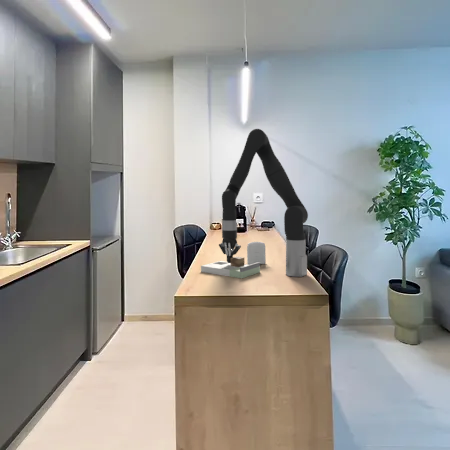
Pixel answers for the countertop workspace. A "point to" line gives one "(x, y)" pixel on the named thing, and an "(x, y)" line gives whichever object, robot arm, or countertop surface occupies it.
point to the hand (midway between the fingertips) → (229, 262)
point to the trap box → (231, 269)
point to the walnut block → (237, 261)
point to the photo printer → (256, 253)
